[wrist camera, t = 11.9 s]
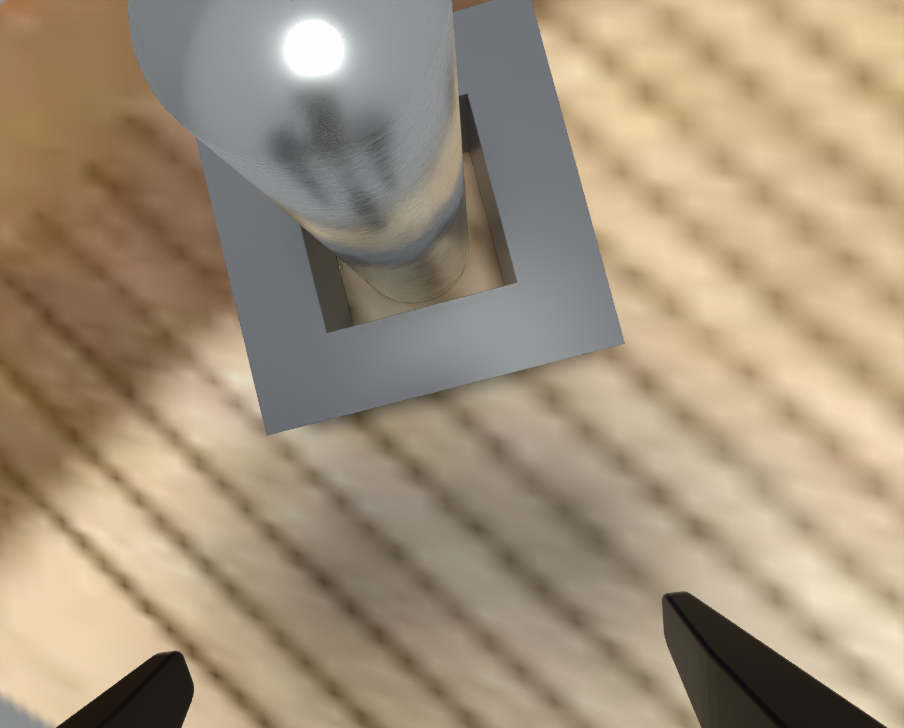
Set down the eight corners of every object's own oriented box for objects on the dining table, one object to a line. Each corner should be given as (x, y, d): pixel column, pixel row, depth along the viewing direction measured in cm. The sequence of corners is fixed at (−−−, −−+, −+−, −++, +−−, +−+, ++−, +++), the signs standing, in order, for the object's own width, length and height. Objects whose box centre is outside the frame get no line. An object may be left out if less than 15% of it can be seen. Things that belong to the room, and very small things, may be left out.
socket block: (593, 350, 19) (624, 343, 15) (309, 423, 20) (266, 435, 16) (517, 68, 20) (528, -11, 16) (242, 148, 20) (184, 92, 16)
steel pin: (448, 317, 19) (389, 199, 6) (343, 283, 20) (86, 108, 7) (483, 210, 19) (494, -121, 6) (377, 178, 20) (187, -198, 7)
